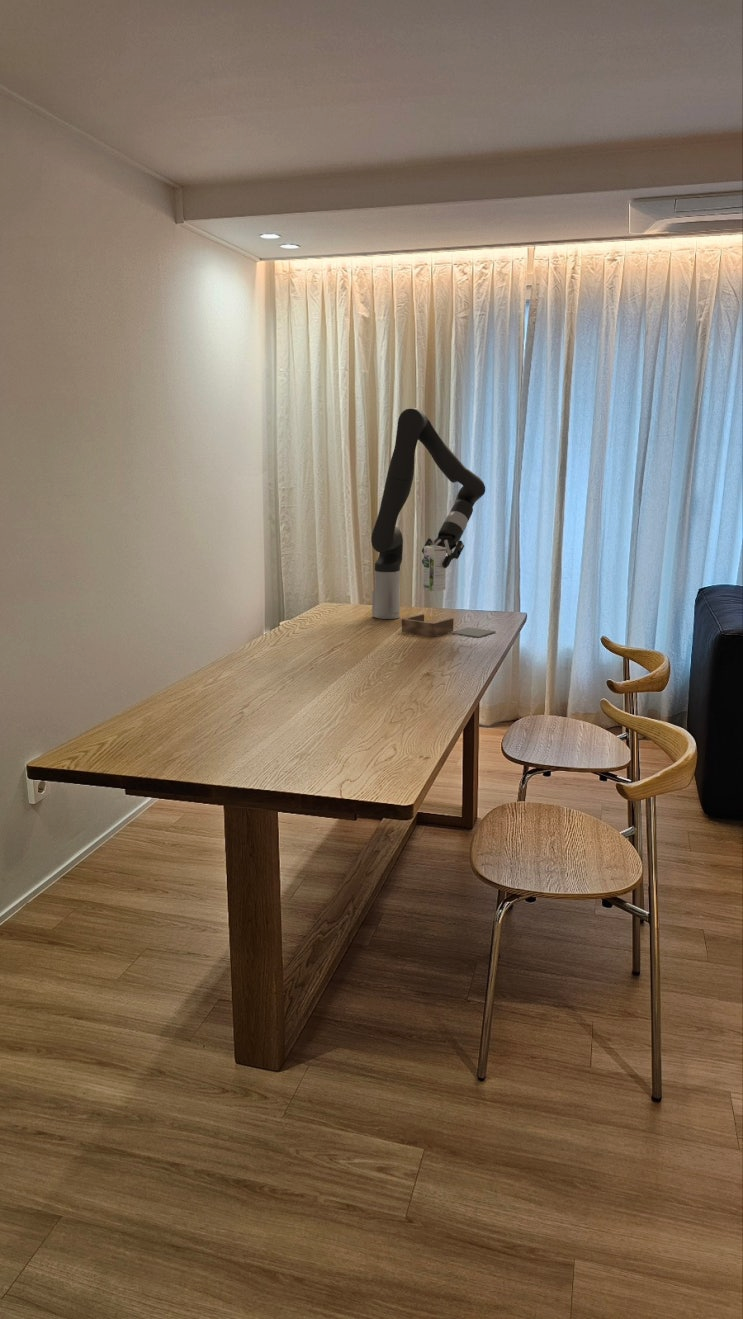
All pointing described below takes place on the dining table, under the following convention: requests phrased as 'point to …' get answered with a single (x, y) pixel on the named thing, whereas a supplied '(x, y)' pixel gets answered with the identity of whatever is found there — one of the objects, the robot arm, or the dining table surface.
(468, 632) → the grey mat
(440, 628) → the walnut cubby
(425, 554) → the syrup box
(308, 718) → the dining table surface
